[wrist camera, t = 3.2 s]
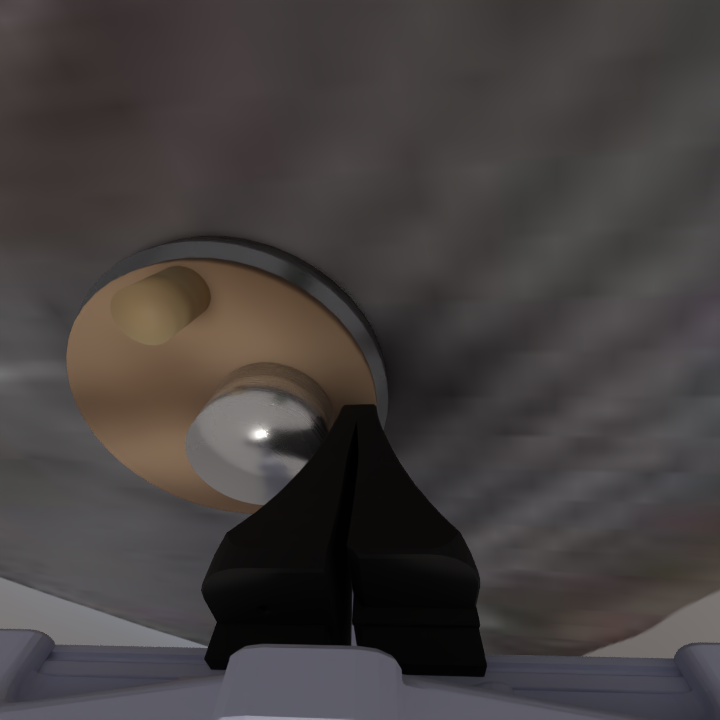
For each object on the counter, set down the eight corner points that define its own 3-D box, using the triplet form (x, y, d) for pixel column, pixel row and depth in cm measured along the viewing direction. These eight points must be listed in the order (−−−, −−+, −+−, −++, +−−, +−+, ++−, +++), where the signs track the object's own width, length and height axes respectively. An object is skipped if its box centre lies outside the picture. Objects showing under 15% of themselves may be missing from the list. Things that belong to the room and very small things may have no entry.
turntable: (382, 498, 18) (383, 559, 15) (150, 501, 19) (110, 559, 16) (368, 245, 11) (366, 268, 9) (18, 268, 12) (-87, 296, 9)
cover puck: (338, 455, 15) (332, 505, 13) (231, 456, 15) (207, 505, 13) (327, 360, 13) (317, 400, 10) (201, 364, 13) (164, 404, 11)
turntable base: (391, 484, 19) (391, 501, 18) (158, 487, 20) (147, 504, 19) (382, 223, 12) (382, 228, 11) (32, 248, 13) (3, 253, 12)
